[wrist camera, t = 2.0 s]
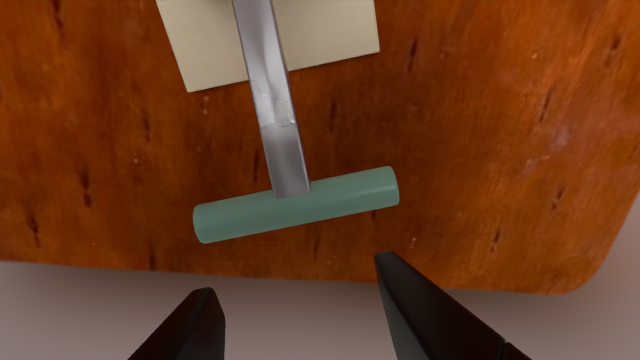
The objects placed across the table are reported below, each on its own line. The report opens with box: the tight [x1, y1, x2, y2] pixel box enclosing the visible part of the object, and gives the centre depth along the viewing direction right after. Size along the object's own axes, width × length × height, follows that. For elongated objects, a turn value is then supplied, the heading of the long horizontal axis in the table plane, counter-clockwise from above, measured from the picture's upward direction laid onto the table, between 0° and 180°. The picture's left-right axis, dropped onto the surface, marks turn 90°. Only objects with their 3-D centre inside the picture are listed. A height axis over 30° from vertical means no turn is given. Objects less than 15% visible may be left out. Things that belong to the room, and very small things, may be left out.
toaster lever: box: [193, 0, 399, 244], centre depth 12 cm, size 11×6×2 cm, turn 11°
